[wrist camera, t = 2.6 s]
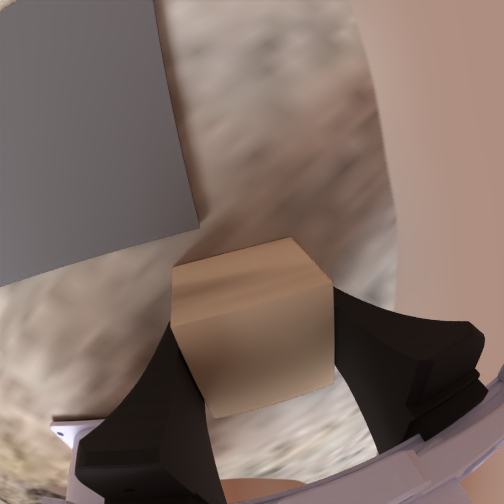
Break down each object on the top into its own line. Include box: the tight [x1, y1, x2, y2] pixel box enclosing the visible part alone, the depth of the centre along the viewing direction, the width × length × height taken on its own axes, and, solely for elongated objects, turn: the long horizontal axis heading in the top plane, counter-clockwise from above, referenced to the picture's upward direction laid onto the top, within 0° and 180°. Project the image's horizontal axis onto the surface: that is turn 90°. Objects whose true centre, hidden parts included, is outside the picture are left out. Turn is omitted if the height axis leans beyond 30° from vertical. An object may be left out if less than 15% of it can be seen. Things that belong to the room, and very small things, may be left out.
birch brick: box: [170, 237, 334, 419], centre depth 11 cm, size 5×5×4 cm
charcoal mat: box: [0, 0, 200, 287], centre depth 8 cm, size 12×12×1 cm
